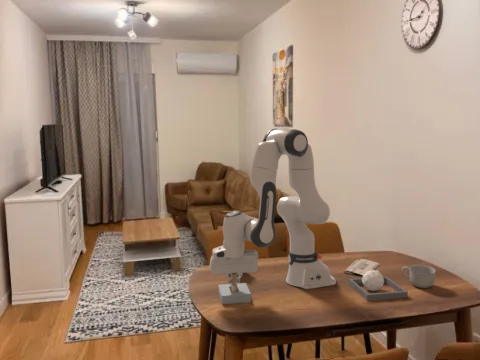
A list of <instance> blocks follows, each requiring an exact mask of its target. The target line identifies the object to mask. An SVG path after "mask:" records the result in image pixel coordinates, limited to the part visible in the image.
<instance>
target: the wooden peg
mask: <svg viewBox="0 0 480 360" xmlns="http://www.w3.org/2000/svg"><path fill="white" fill-rule="evenodd" d="M230 278H231V279H232V283H230V284H231V291H232V292H237V284H238V283H237V278H238V275H237V273H231V274H230Z"/></svg>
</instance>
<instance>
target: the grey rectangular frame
mask: <svg viewBox="0 0 480 360" xmlns="http://www.w3.org/2000/svg"><path fill="white" fill-rule="evenodd" d="M362 278H363V277H361V278H360V277H358V278H349V279H348V285H349V286H350V287H351V288H352V289H353V290H354V291H356V292H357V293H358V294H359V295H360V296H361V297H362V298H363V299H365V301H367V302H368V301H379V300H380V301H381V300H392V299H393V300H394V299H408V294H409V293H408V291H407V290H406V289H405V288H403V287H402V286H401V285H399V284H397V283H396V282H394V280H392V279H391V278H389V276H383V279H384V283H383V284H386V285H388V286H389V287H390V288H391V289H393V290H394V291H389V292H376V293H375V292H374V293H368V292H367V290H365V289H364V288H363V287H361V285H363V282H362Z"/></svg>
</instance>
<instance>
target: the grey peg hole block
mask: <svg viewBox="0 0 480 360" xmlns="http://www.w3.org/2000/svg"><path fill="white" fill-rule="evenodd" d="M217 288H218V289H217V290H218V292H217V293H218V296H219V300H220V303H221V305H227V304H228V305H229V304H231V305H232V304H242V303H251V302H252V293H251V291H250V289H249V287H248V284H247V282H242V283H241V282H240V283H237V292H232V291H231V283H226V284H223V283H222V284H218V286H217Z"/></svg>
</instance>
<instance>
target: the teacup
mask: <svg viewBox="0 0 480 360" xmlns="http://www.w3.org/2000/svg"><path fill="white" fill-rule="evenodd" d="M405 270H407V271H408V273H409V274H407V273H406V272H405ZM436 271H437V270H436V269H435V268H434V267H432V266H429V265H426V264H413V265H411V266H403V267H402V268H401V273H402V275H403V276H405V277H406V278H407V279H408V280H409V282H410V283H411V284H412V285H413V286H414V287H415V288H418V289H428V288H431V287H432V286H433V285H434V284H435V280H436V279H435V278H436Z"/></svg>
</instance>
